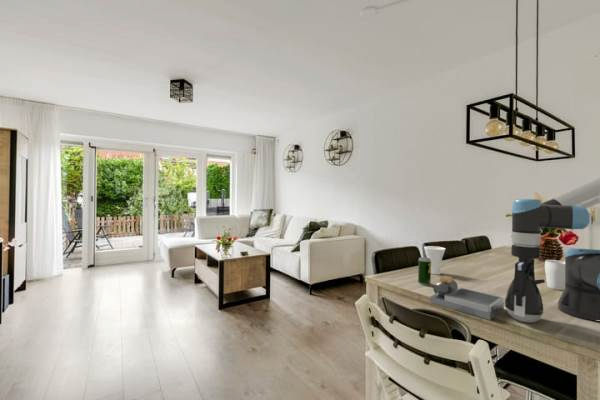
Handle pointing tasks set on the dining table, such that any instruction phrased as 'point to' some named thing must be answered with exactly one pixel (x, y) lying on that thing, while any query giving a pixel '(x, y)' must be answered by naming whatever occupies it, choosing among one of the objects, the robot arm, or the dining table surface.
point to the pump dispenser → (527, 301)
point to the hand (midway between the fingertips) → (523, 311)
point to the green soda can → (424, 271)
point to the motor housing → (466, 299)
